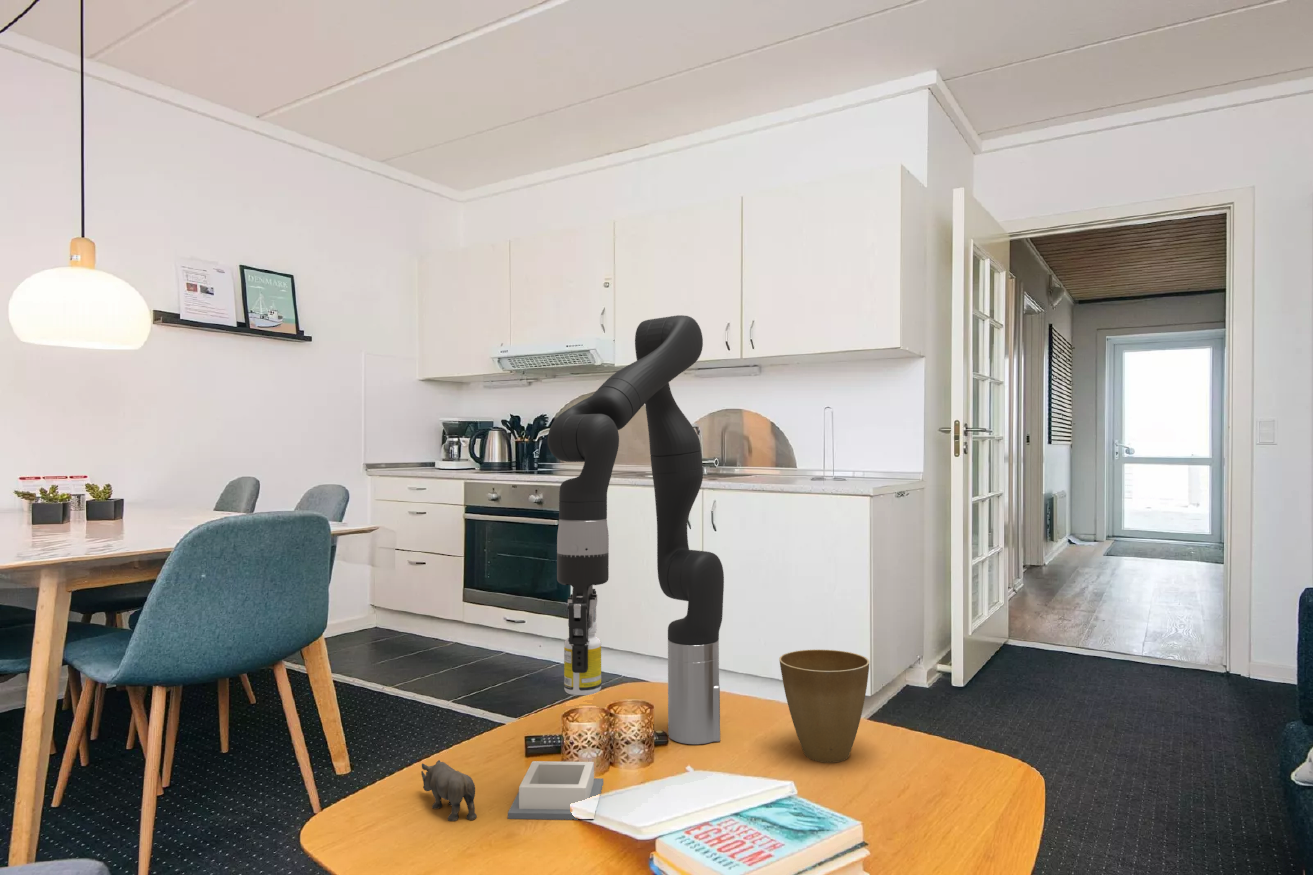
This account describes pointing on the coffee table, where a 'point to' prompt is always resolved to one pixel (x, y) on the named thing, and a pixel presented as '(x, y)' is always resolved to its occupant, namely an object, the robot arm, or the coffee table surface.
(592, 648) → the supplement bottle
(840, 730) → the plant pot
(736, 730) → the coffee table surface
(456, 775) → the rhino figurine
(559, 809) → the box
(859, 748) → the coffee table surface
